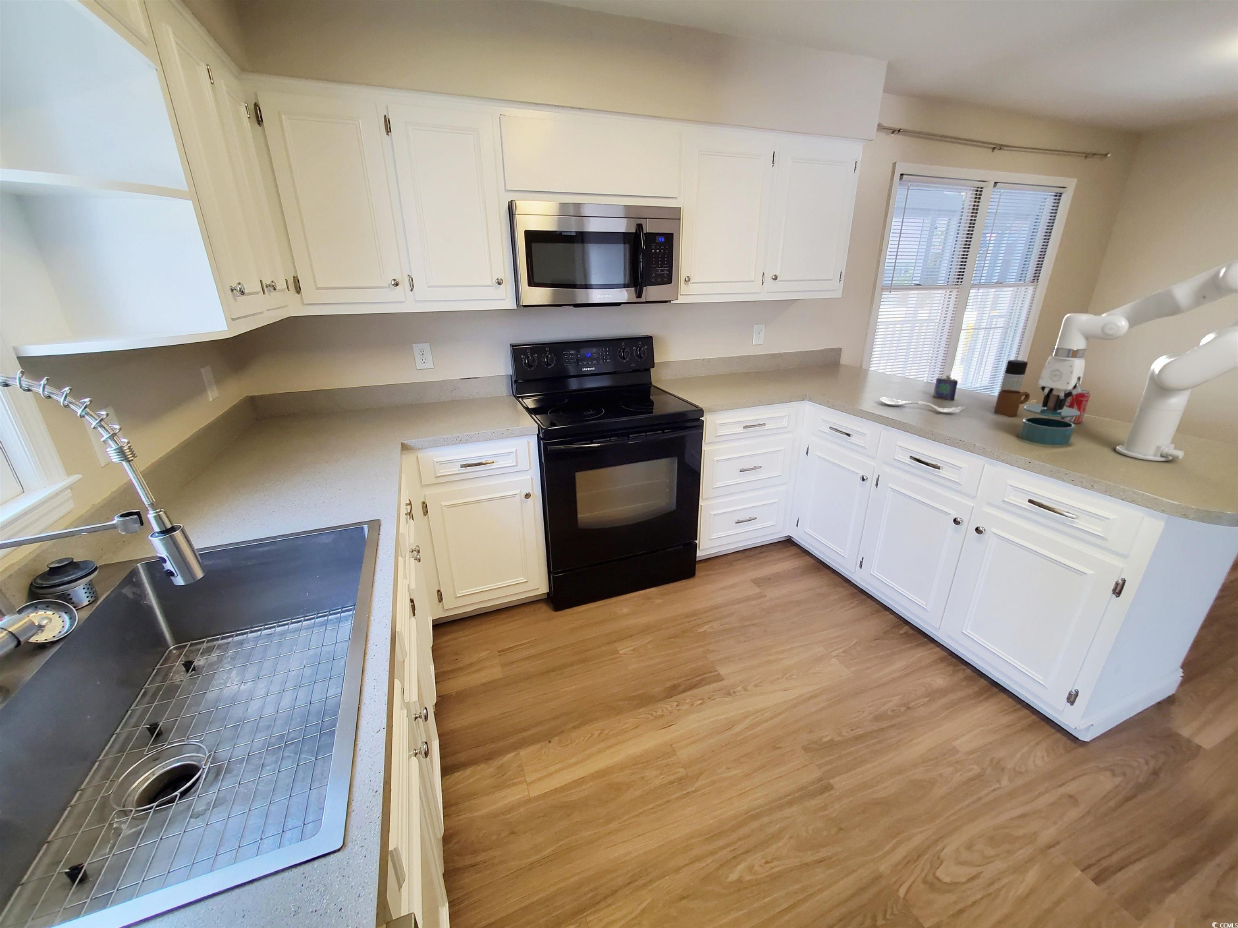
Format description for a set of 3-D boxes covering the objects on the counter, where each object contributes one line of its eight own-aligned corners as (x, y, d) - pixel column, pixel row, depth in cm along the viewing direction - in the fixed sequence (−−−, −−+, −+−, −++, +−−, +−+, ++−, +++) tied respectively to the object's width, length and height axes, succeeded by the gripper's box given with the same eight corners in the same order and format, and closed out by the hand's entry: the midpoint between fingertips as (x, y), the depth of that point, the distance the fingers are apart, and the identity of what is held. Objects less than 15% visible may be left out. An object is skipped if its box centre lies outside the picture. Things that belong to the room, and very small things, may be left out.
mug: (1016, 411, 204) (1022, 388, 200) (1032, 416, 197) (1038, 393, 193) (988, 412, 203) (994, 390, 200) (1003, 417, 196) (1009, 394, 193)
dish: (1079, 444, 166) (1085, 425, 163) (1048, 449, 162) (1054, 430, 160) (1038, 432, 178) (1043, 415, 175) (1008, 436, 175) (1013, 419, 172)
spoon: (956, 418, 197) (958, 410, 196) (874, 405, 220) (876, 397, 219) (964, 414, 202) (966, 406, 201) (883, 401, 225) (884, 393, 224)
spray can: (1010, 406, 210) (1023, 359, 202) (1018, 411, 204) (1031, 362, 196) (992, 406, 212) (1004, 359, 204) (999, 410, 205) (1011, 362, 198)
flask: (931, 396, 230) (936, 374, 226) (935, 395, 231) (940, 373, 227) (952, 400, 222) (957, 377, 218) (955, 399, 223) (961, 376, 220)
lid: (1090, 416, 162) (1097, 396, 159) (1056, 420, 158) (1063, 400, 156) (1044, 405, 175) (1050, 387, 172) (1012, 409, 172) (1017, 390, 169)
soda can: (1079, 424, 185) (1089, 393, 180) (1058, 421, 189) (1067, 390, 185) (1083, 421, 188) (1093, 390, 184) (1062, 418, 193) (1071, 387, 189)
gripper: (1034, 350, 166) (1019, 403, 173) (1088, 358, 151) (1069, 415, 158) (1051, 349, 168) (1035, 401, 174) (1106, 356, 153) (1087, 413, 160)
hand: (1052, 407), depth 166 cm, fingers closed on lid, 3 cm apart
